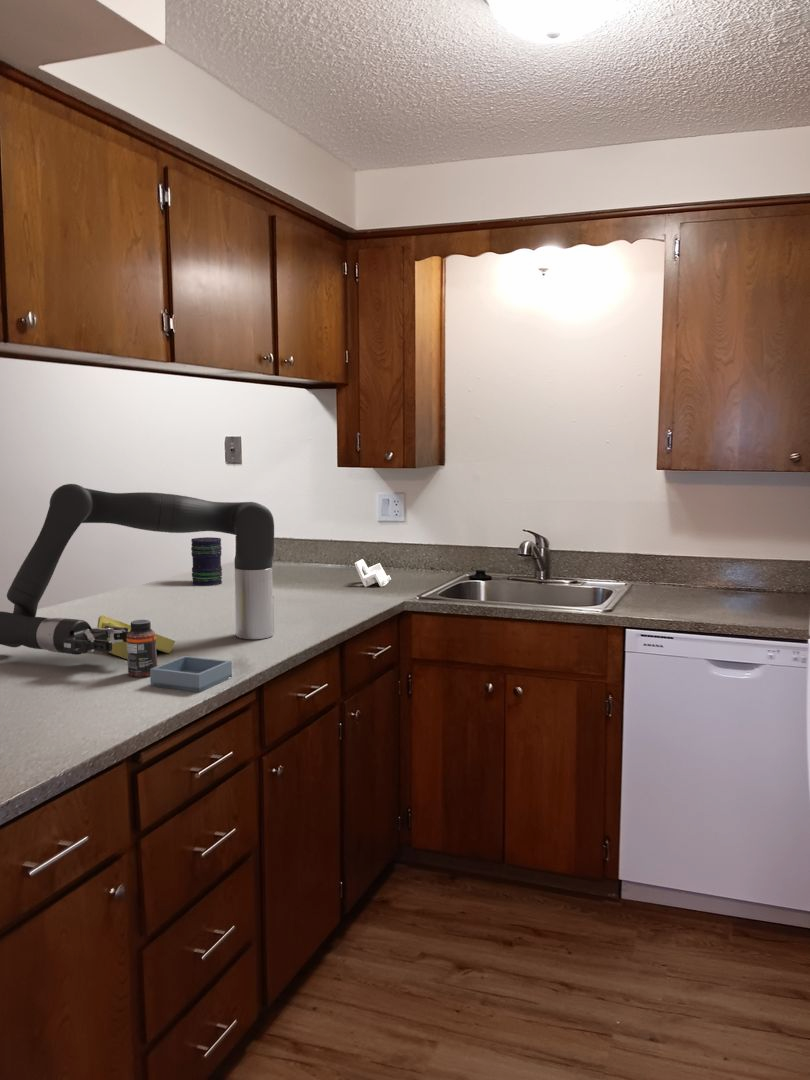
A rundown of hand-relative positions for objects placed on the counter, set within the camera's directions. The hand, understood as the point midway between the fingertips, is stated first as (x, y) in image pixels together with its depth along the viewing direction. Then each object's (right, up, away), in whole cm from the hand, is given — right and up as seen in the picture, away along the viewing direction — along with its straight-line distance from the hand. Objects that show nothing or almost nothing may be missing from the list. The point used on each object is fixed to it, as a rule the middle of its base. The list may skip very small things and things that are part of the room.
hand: (124, 642), depth 193 cm
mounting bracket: (+49, +6, +111) cm, 122 cm away
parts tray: (+16, -7, -7) cm, 19 cm away
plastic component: (-4, -5, +20) cm, 21 cm away
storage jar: (-7, +7, +111) cm, 112 cm away
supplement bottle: (+4, -7, -1) cm, 8 cm away
